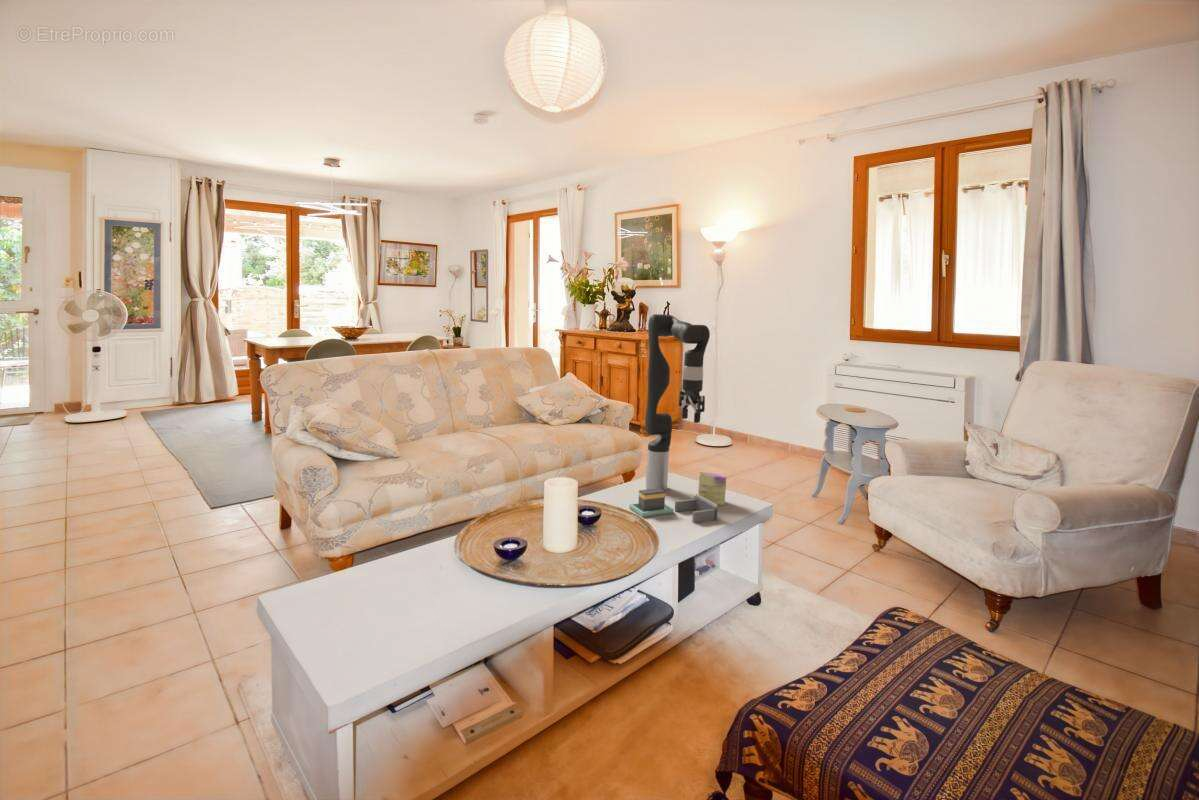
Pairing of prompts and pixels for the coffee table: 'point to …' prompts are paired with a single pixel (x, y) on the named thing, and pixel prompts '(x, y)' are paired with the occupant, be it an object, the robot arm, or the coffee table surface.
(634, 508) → the tray
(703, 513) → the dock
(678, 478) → the coffee table surface
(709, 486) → the box
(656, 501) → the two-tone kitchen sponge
